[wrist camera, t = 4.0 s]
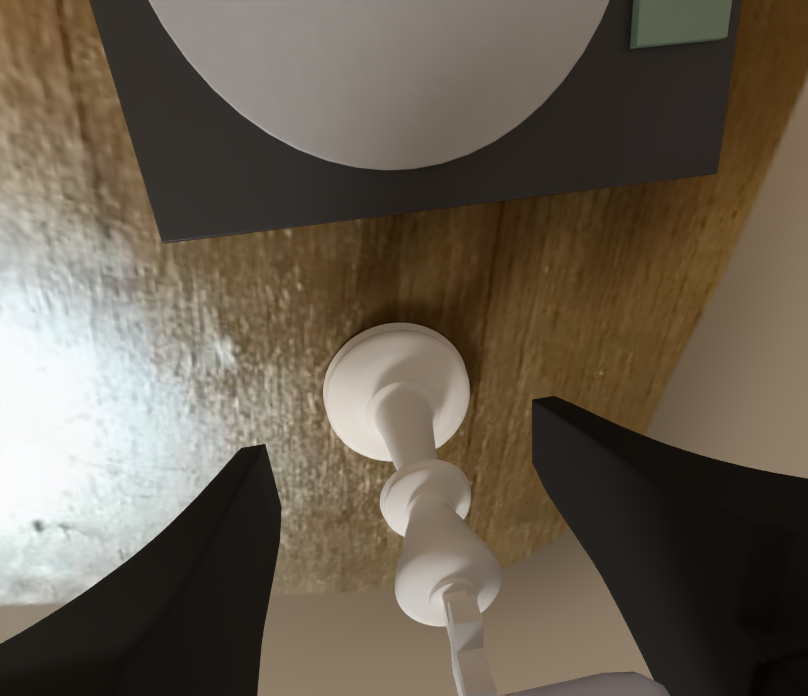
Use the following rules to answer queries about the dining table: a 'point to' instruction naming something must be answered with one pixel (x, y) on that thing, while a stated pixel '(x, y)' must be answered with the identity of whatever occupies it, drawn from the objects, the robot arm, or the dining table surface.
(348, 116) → the scale
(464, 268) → the dining table surface
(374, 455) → the chess piece
